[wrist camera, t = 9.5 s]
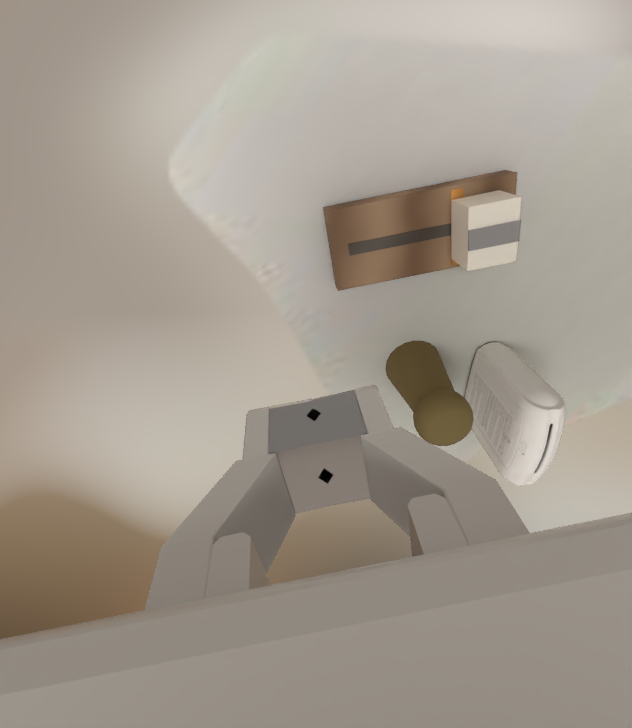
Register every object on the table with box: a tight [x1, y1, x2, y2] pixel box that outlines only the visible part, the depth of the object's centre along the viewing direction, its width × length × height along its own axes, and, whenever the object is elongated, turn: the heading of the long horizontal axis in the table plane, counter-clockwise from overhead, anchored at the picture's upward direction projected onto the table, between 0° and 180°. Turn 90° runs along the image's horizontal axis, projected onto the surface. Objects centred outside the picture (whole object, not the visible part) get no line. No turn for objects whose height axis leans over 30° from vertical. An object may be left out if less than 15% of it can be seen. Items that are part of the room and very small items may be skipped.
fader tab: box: [451, 190, 521, 271], centre depth 33 cm, size 4×5×4 cm
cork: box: [386, 341, 474, 446], centre depth 39 cm, size 6×6×11 cm
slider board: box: [323, 170, 517, 291], centre depth 36 cm, size 16×7×2 cm, turn 99°
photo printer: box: [465, 342, 565, 486], centre depth 41 cm, size 10×4×12 cm, turn 0°
